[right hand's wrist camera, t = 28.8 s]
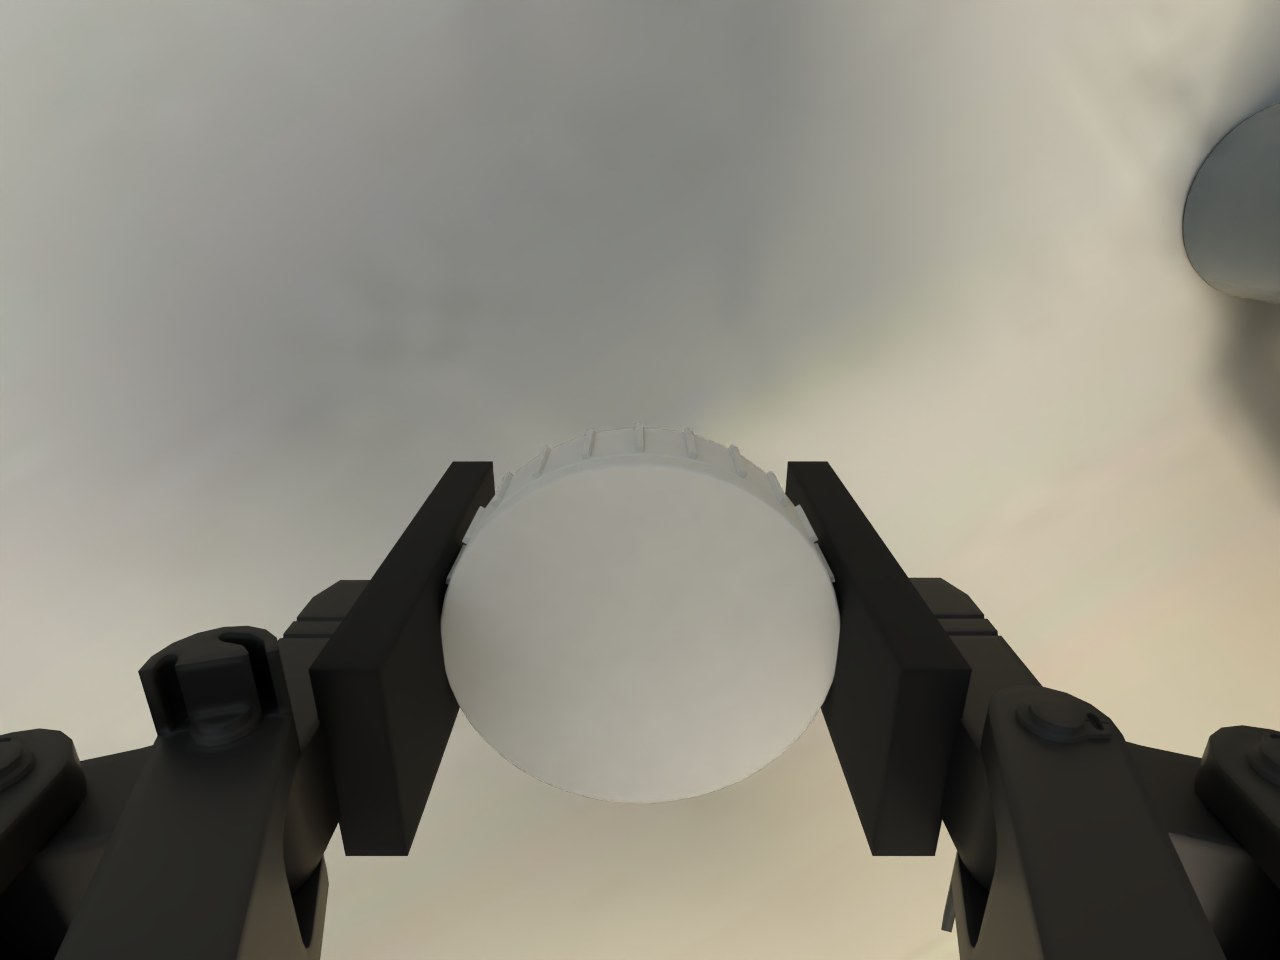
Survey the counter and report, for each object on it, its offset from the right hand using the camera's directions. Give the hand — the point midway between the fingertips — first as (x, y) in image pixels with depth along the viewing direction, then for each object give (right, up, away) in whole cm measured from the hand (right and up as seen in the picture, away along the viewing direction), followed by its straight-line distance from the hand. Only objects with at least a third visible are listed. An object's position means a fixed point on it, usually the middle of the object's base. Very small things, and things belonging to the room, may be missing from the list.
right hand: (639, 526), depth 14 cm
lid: (0, -1, -4) cm, 4 cm away
